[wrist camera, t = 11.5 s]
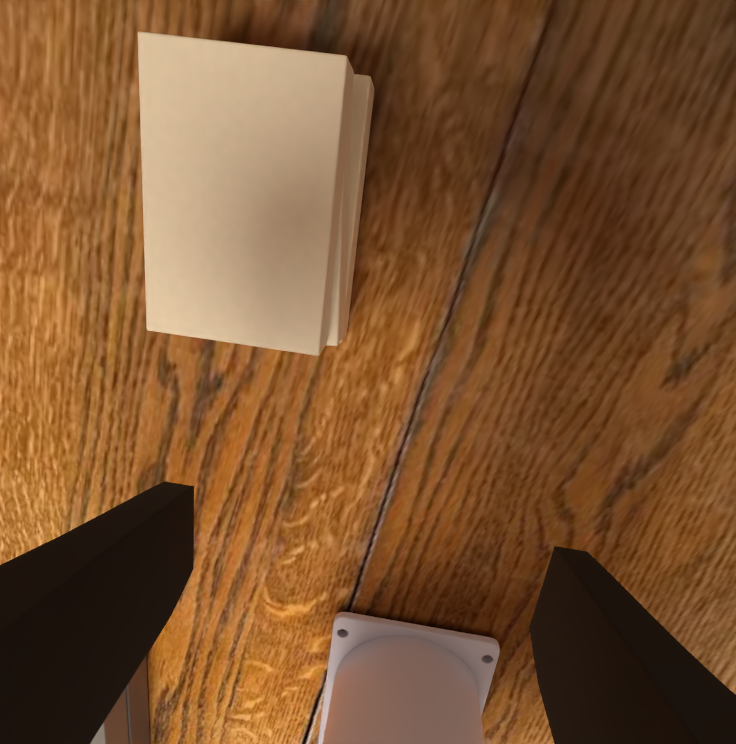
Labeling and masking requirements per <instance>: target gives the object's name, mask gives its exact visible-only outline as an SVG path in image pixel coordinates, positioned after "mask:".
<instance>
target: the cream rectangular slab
mask: <svg viewBox="0 0 736 744" xmlns="http://www.w3.org/2000/svg"><path fill="white" fill-rule="evenodd" d="M138 60H139V93H140V126H141V158H142V191H143V224H144V256H145V289H146V321H147V330H149V331H155V332H162V333H169V334H176V335H182V336H189V337H196V338H202V339H209V340H216V341H222V342H229V343H236V344H243V345H249V346H256V347H263V348H269V349H276V350H283V351H289V352H296V353H303V354H310V355H316V356H318V355H319V354H320V353H321V351H322V350H323V348H324V347H325V345H326V344H327V337H328V327H329V317H330V307H331V296H332V286H333V276H334V266H335V256H336V246H337V236H338V226H339V216H340V206H341V196H342V186H343V176H344V166H345V156H346V146H347V136H348V126H349V116H350V106H351V96H352V86H353V76H354V71H353V69H352V66H351V64H350V62H349V60H348V57H347V56H346V55H339V54H330V53H322V52H313V51H304V50H296V49H287V48H279V47H270V46H261V45H253V44H244V43H236V42H227V41H218V40H210V39H201V38H193V37H184V36H175V35H167V34H158V33H150V32H141V31H140V32H138Z"/></svg>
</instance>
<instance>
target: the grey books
mask: <svg viewBox="0 0 736 744" xmlns="http://www.w3.org/2000/svg"><path fill="white" fill-rule="evenodd" d="M90 744H150V734H149V709H148V684H147V659H146V657H145V658H144V660H143V661H142V663H141V664H140V666H139V668H138V669H137V671H136V672H135V674H134V675H133V677H132V679H131V680H130V682H129V683H128V685H127V686H126V688H125V690H124V691H123V693H122V694H121V696H120V697H119V699H118V701H117V702H116V704H115V705H114V707H113V708H112V710H111V712H110V713H109V715H108V716H107V718H106V719H105V721H104V723H103V724H102V726H101V727H100V729H99V730H98V732H97V734H96V735H95V737H94V738H93V740H92V742H91V743H90Z"/></svg>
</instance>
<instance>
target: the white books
mask: <svg viewBox="0 0 736 744" xmlns="http://www.w3.org/2000/svg"><path fill="white" fill-rule="evenodd" d="M374 90H375V89H374V85H373V82H372V80H371V77H370V76H367V75H359V74H354V76H353V86H352V96H351V106H350V116H349V126H348V136H347V146H346V156H345V166H344V176H343V186H342V196H341V206H340V216H339V226H338V236H337V246H336V256H335V266H334V276H333V286H332V296H331V307H330V317H329V327H328V337H327V344H326V345H330V346H337V345H338V344H339V343H341V342H342V340H343V339H344V337H345V335H346V333H347V328H348V319H349V310H350V302H351V293H352V284H353V275H354V266H355V258H356V249H357V240H358V231H359V222H360V213H361V205H362V196H363V187H364V178H365V169H366V161H367V152H368V143H369V134H370V125H371V117H372V108H373V99H374Z"/></svg>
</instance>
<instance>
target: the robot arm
mask: <svg viewBox="0 0 736 744" xmlns="http://www.w3.org/2000/svg"><path fill="white" fill-rule="evenodd" d="M193 549H194V486H188V485H182V484H176V483H170V482H163V483H161V484H159V485H156V486H154V487H152V488H150V489H148V490H146V491H144V492H143V493H141V494H139V495H137V496H135V497H133V498H131V499H129V500H128V501H126V502H124V503H122V504H120V505H118V506H116V507H115V508H113V509H111V510H109V511H107V512H105V513H103V514H101V515H100V516H98V517H96V518H94V519H92V520H90V521H88V522H86V523H84V524H82V525H81V526H79V527H77V528H75V529H73V530H71V531H69V532H67V533H65V534H63V535H62V536H60V537H58V538H55V539H53V540H51V541H49V542H47V543H45V544H43V545H41V546H39V547H37V548H35V549H33V550H31V551H29V552H27V553H25V554H22V555H20V556H18V557H16V558H14V559H12V560H10V561H8V562H6V563H4V564H2V565H0V744H90V743H91V742H92V740H93V738H94V737H95V735H96V734H97V732H98V730H99V729H100V727H101V726H102V724H103V723H104V721H105V719H106V718H107V716H108V715H109V713H110V712H111V710H112V708H113V707H114V705H115V704H116V702H117V701H118V699H119V697H120V696H121V694H122V693H123V691H124V690H125V688H126V686H127V685H128V683H129V682H130V680H131V679H132V677H133V675H134V674H135V672H136V671H137V669H138V668H139V666H140V664H141V663H142V661H143V660H144V658H145V657H146V655H147V653H148V652H149V650H150V649H151V647H152V645H153V644H154V642H155V641H156V639H157V637H158V636H159V634H160V633H161V631H162V629H163V628H164V626H165V625H166V623H167V621H168V620H169V618H170V616H171V614H172V612H173V610H174V608H175V606H176V604H177V602H178V600H179V598H180V596H181V594H182V592H183V590H184V588H185V585H186V583H187V581H188V579H189V577H190V575H191V573H192V570H193ZM340 629H344V630H346V631H342V630H340ZM530 633H531V640H532V647H533V654H534V661H535V666H536V672H537V678H538V684H539V688H540V691H541V695H542V699H543V703H544V706H545V710H546V714H547V717H548V721H549V725H550V728H551V732H552V736H553V739H554V743H555V744H736V695H735V694H734V693H733V692H732V691H730V690H729V689H728V688H727V687H726V686H725V685H724V684H723V683H722V682H721V681H719V680H718V679H717V678H716V677H715V676H714V675H713V674H712V673H711V672H710V671H708V670H707V669H706V668H705V667H704V666H703V665H702V664H701V663H700V662H699V661H698V660H697V659H696V658H695V657H694V656H693V655H692V654H690V653H689V652H688V651H687V650H686V649H685V648H684V647H683V646H682V645H681V644H680V643H679V642H678V641H677V640H676V639H675V638H674V637H673V636H672V635H671V634H670V633H669V632H668V631H667V630H666V629H665V628H664V627H663V626H662V625H661V624H660V623H659V622H658V621H657V620H656V619H655V618H654V617H653V616H652V615H651V614H650V613H649V612H648V611H647V610H646V609H645V608H644V607H643V606H642V605H641V604H640V603H639V602H638V601H637V600H636V599H635V598H634V597H633V596H632V595H631V594H630V593H629V592H628V591H627V590H626V589H625V588H624V587H623V586H622V585H621V584H620V583H619V582H618V581H617V580H616V579H615V578H614V577H613V576H612V575H611V574H610V573H609V572H608V571H607V570H606V569H605V568H604V567H603V566H602V565H601V564H600V563H599V562H597V561H596V560H595V559H594V558H593V557H592V556H591V555H590V554H589V553H588V552H586V551H580V550H574V549H568V548H562V547H556V546H555V547H554V550H553V553H552V557H551V560H550V563H549V566H548V570H547V573H546V576H545V579H544V582H543V586H542V589H541V592H540V595H539V599H538V602H537V605H536V608H535V611H534V615H533V618H532V621H531V624H530ZM499 654H500V647H499V643H498V641H497V640H495V639H494V638H491V637H486V636H480V635H474V634H469V633H463V632H457V631H452V630H446V629H440V628H435V627H429V626H423V625H418V624H412V623H406V622H401V621H395V620H389V619H384V618H378V617H372V616H367V615H361V614H355V613H350V612H340V613H338V614H337V615H336V616H335V619H334V624H333V632H332V640H331V647H330V655H329V662H328V670H327V678H326V685H325V693H324V700H323V708H322V716H321V723H320V731H319V739H318V744H485V742H484V734H483V726H482V718H481V716H482V712H483V709H484V706H485V702H486V699H487V695H488V692H489V688H490V685H491V681H492V678H493V675H494V671H495V668H496V664H497V661H498V657H499ZM485 655H489V656H485Z"/></svg>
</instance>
